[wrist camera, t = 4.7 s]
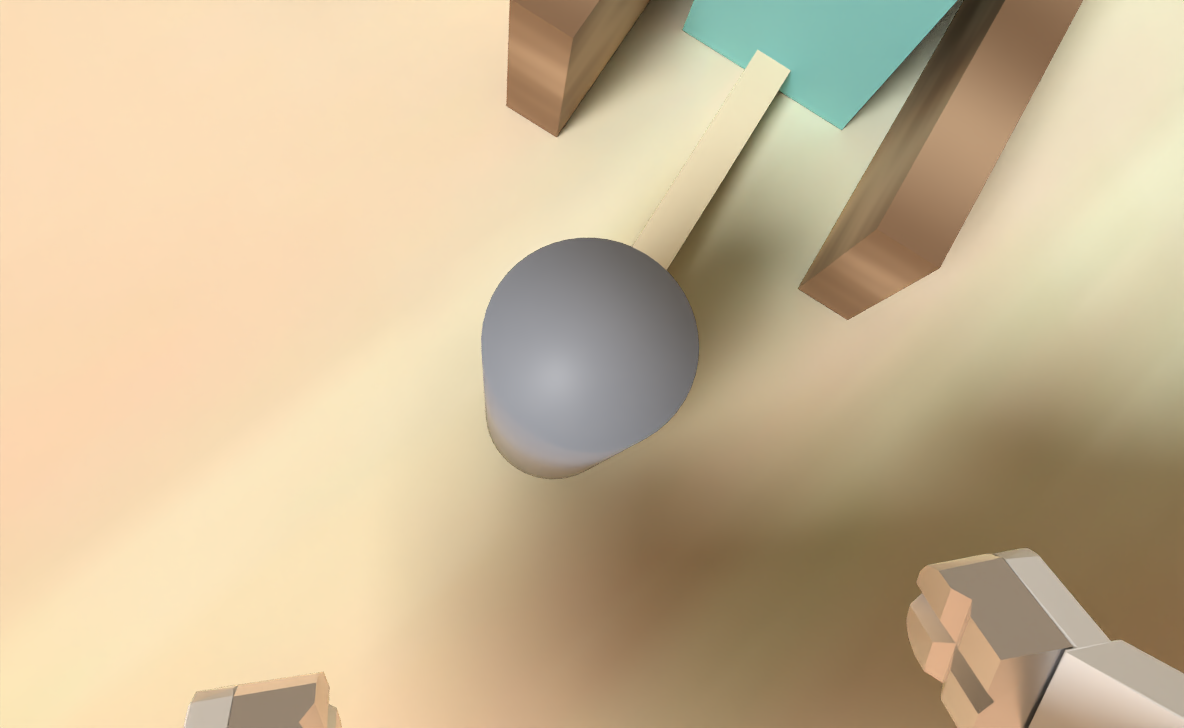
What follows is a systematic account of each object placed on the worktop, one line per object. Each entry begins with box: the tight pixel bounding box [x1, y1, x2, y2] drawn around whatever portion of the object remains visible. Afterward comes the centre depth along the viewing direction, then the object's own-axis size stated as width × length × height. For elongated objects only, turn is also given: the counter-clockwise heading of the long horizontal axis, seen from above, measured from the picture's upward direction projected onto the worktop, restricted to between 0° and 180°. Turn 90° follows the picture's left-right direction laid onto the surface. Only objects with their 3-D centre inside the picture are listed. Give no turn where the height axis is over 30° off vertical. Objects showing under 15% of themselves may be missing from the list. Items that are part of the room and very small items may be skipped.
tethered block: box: [481, 0, 957, 479], centre depth 17 cm, size 17×5×9 cm, turn 149°
